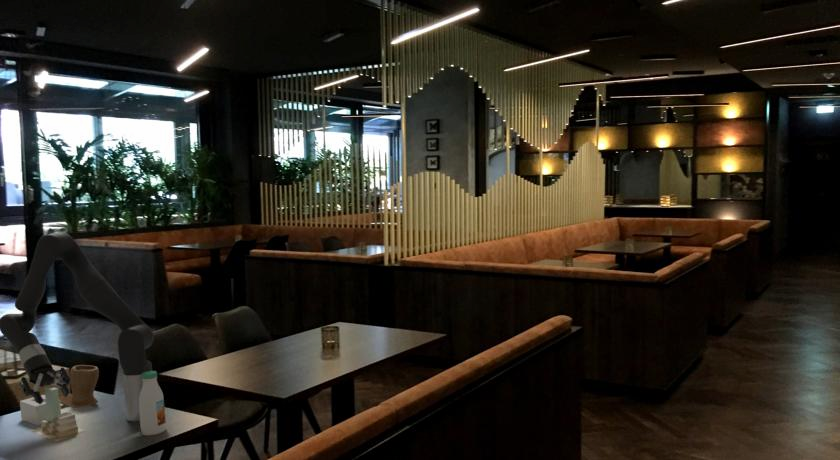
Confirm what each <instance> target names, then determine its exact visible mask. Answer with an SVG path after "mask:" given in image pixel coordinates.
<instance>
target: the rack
mask: <svg viewBox="0 0 840 460" xmlns="http://www.w3.org/2000/svg"><path fill="white" fill-rule="evenodd" d="M51 428H52V423H51V422H48V421H45V420H44V421H42V424H41V427H37V428H34V429H31V430H30V432H31V433H34V434H37V435H39V436H42V437H45V438H46V439H49V440H51V441H53V442H54V441H55V442H59V441H61V440H65V439H67V438H70V437H74V436H77V435H80V434H83V433H86V432H87V430H86V429H83V428H80V427H78V433H75V434H71V435H68V436H65V437H62V438H60V437H57V436H54V435H52V431H51Z"/></svg>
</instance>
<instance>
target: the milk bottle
mask: <svg viewBox="0 0 840 460" xmlns="http://www.w3.org/2000/svg"><path fill="white" fill-rule="evenodd" d="M142 380H143V386H142V389H141V392H140V395H139V413H140V421H139V425H140V433H141V435H143V436H156V435H159V434H161V433H164V432H165V431H166V429H167V425H166V424H167V423H166V410H165V409H166V408H165V399H164V393H163V391H162V389H161V387H160V385H159V382H158V372H157V371H156V370H152V371H147V372H144V373H142Z"/></svg>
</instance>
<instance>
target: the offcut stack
mask: <svg viewBox="0 0 840 460" xmlns="http://www.w3.org/2000/svg"><path fill="white" fill-rule="evenodd" d="M78 428H79V426H78V425H77V420H76V414H75V413H72V412H69V411H65V412H61V414H58V415H55V416H53V423H52V428H51V431H52V435H54V436H57V437H60V438H62V437H65V436H68V435H71V434H75V433H78Z"/></svg>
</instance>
